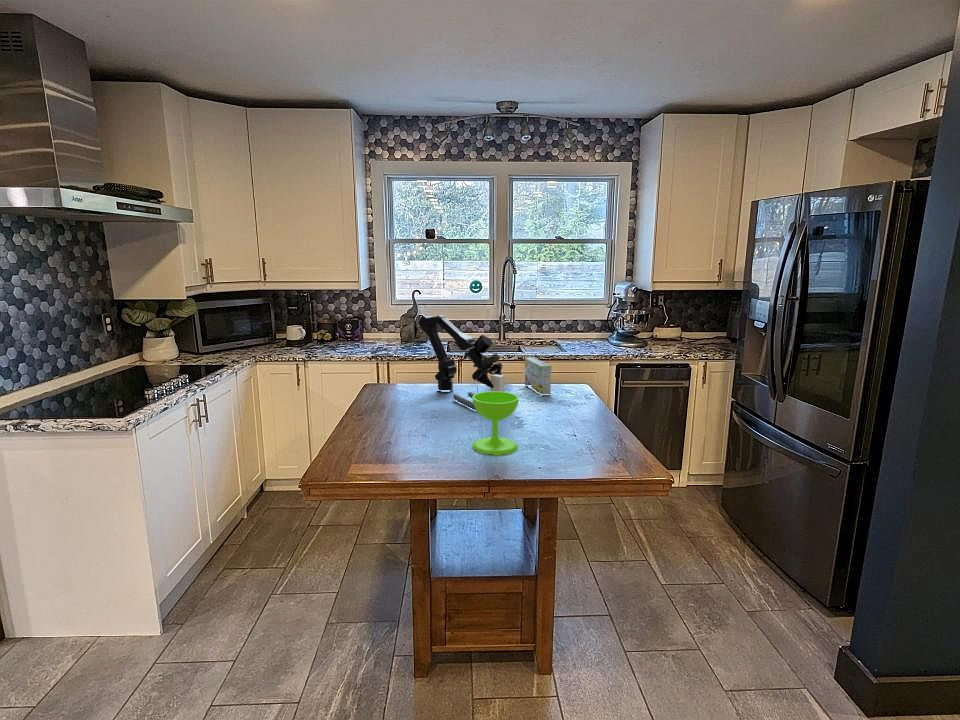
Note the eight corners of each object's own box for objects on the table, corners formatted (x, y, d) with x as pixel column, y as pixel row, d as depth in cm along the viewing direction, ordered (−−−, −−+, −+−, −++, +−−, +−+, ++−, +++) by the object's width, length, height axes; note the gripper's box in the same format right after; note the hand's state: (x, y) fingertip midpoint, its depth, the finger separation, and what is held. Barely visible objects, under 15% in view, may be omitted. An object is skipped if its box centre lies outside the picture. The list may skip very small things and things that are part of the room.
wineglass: (526, 450, 180) (528, 399, 177) (486, 458, 172) (487, 406, 169) (502, 436, 194) (502, 389, 190) (463, 443, 186) (464, 394, 183)
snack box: (523, 386, 270) (524, 357, 267) (533, 385, 271) (534, 357, 268) (540, 396, 250) (541, 365, 247) (551, 395, 251) (552, 365, 249)
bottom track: (453, 400, 241) (453, 394, 241) (470, 398, 246) (470, 392, 245) (475, 411, 224) (475, 404, 224) (492, 409, 229) (492, 402, 228)
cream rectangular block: (490, 400, 242) (490, 375, 239) (494, 399, 245) (494, 374, 242) (499, 402, 239) (500, 376, 237) (503, 400, 242) (504, 375, 240)
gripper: (477, 351, 232) (498, 378, 228) (499, 345, 247) (519, 371, 244) (463, 366, 238) (483, 393, 234) (485, 360, 253) (504, 385, 249)
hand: (498, 385), depth 240 cm, fingers open, 9 cm apart
